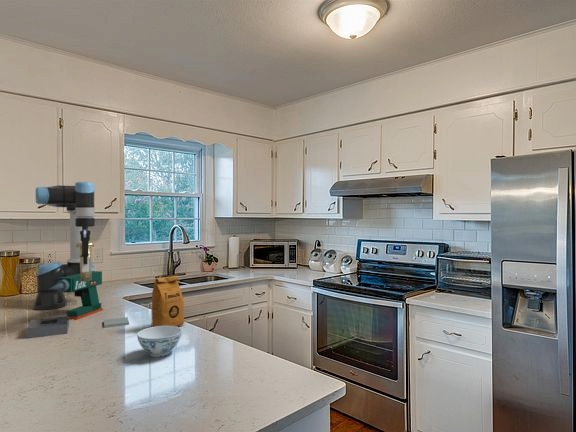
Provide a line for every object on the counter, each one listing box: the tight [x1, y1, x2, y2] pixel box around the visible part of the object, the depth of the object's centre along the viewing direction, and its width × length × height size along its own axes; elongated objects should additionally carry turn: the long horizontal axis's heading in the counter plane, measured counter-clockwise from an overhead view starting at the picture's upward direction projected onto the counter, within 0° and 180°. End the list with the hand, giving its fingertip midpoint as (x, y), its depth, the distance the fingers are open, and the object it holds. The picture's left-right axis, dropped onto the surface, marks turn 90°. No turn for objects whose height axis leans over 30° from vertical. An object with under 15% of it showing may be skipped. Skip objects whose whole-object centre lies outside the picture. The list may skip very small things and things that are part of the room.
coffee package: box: [151, 275, 185, 327], centre depth 172 cm, size 10×12×22 cm
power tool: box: [49, 270, 104, 321], centre depth 188 cm, size 32×7×20 cm, turn 168°
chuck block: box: [26, 315, 70, 339], centre depth 167 cm, size 14×14×4 cm
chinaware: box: [136, 326, 183, 358], centre depth 139 cm, size 15×15×8 cm
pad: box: [103, 316, 130, 329], centre depth 178 cm, size 10×10×1 cm
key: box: [76, 242, 95, 281], centre depth 173 cm, size 4×7×16 cm, turn 116°
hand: (85, 270), depth 173 cm, fingers closed on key, 4 cm apart
